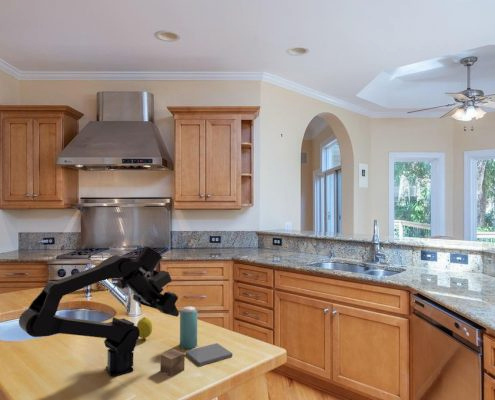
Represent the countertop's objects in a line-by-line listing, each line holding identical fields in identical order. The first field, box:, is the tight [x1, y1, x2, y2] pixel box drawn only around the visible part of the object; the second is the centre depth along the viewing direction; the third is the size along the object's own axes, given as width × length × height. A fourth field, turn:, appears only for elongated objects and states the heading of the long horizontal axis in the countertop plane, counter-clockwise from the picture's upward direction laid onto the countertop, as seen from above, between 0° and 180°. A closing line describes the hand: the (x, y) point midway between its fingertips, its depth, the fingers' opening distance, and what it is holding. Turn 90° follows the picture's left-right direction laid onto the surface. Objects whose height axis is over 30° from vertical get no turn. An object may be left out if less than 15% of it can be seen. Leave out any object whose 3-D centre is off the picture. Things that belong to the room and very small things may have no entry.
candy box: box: [93, 261, 113, 291], centre depth 202 cm, size 9×4×15 cm, turn 93°
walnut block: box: [160, 348, 186, 377], centre depth 107 cm, size 5×5×5 cm
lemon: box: [136, 316, 153, 340], centre depth 130 cm, size 6×6×8 cm
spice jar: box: [179, 305, 198, 350], centre depth 125 cm, size 6×6×13 cm
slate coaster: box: [184, 342, 233, 366], centre depth 117 cm, size 12×10×1 cm
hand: (170, 312), depth 119 cm, fingers open, 9 cm apart
